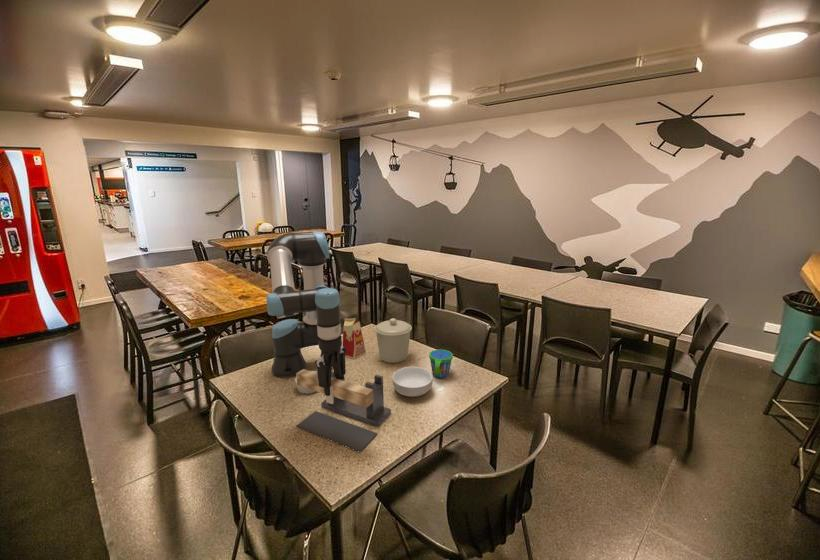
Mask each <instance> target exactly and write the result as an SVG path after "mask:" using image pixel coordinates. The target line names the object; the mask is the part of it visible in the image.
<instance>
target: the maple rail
mask: <svg viewBox="0 0 820 560" xmlns="http://www.w3.org/2000/svg"><path fill="white" fill-rule="evenodd" d="M312 371H313V370H307V369H303V370H301V371H299V372H298V373H296V375H295V376H296V377H297V385H299V386H302V387H305V388H308V389H311V390H314V391H316V393H317V392H319V393H321V394H324V395H325V391H324V388H322V387H319V382H318V374H317V373H315V372H312ZM296 377H295V378H296ZM297 385H296V386H297ZM331 386H333V397H336V398H339V399H342V400H345V401H348V402H351V403H355V404H358V405H361V406H364V407H368V406H370V405H371V404H372V403H373V389H369V388H366V387H365V386H363V385H359V384H355V383H352V382H349V381H346V380H345V381H342V380H339V379H335V378H332V377H331Z"/></svg>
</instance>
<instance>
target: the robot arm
mask: <svg viewBox="0 0 820 560" xmlns="http://www.w3.org/2000/svg"><path fill="white" fill-rule="evenodd" d="M327 240H328V239H327V237H326V235H325V233H324V232H322V231H302V232H286V233H283V234H280V235H278V236H277V237H276V238H275V239H273V240H272V242H271V243H270V244H269V246H268V249H267V251H266V257H267V258H266V259H267V261H268V263H269V264H270V276H271V277H270V278H271V288H272V289H271V291H272V293H271V292H270V293H268V294H267V295H266V296H265V297H266V298H265V299H266V309H267V314H268V315H269V316H272V317H273V316H285V315H292V314H293V315H295V314H301V313H305V315H304V316H303V318H302V322H299V320H298V319H295V318H288V319H287V318H286V319H283V320H281V321H278V322H276V323H275V324H274V325H273V327H272V328H271V333H272V334H271V338H272V343H273V353H274V358H273V363H272V365H271V373H272V374H273V376H276V377H278V378H279V377H280V378H290V377H294V376H296V373H298V372H299V371H301V370H303V369H305V370H307V364H306V363H307V362H306V361H305V358H304V355H303V354H302V351H301V350H302V349H301V348H309V347H315V346H318V348H319V350H320V356H319V357H320V358H318V360H315V361H314V365H315V367H316V371H317V374H318V382H319V387H322V388H324V391H325V394H324V396H325V400H326V402H327V403H330V404H333V403H334V399H333V386H331V373H332V372H334V375H335V377H336V378H335V379H339V380H341V379H342V380H343V379H345V375H346V373H347V371H346V356H345V353H346V348H345V347H343V335H341V334H342V327H341V325H342V324H341V309H340V308H341V307H340V302H341V300H340V294H339V291H338V289H336V288H332V287H328V286H327V285H324V284H325V283H324V267H323V266H324V265H326V263H327V260H328V259H329V258H330V249H329V244H328V241H327ZM292 261H297V262H298V265H299V266H301V268H302V276H303V288H304V289H301V290H300V289H299V290H296V287H295V282H294V276H293V268H292ZM341 370H342V371H341ZM343 375H344V377H343Z"/></svg>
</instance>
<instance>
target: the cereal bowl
mask: <svg viewBox="0 0 820 560" xmlns="http://www.w3.org/2000/svg"><path fill="white" fill-rule="evenodd" d="M433 377H434V376H433V374H432V372H431V371H429V370H428V369H426V368H423V367H419V366H405V367H402V368H399V369H397V370H395V371H394V372H393V374H392V377H391V380H392V386H393V387H394V389H395V391H396V392H397V393H399V394H401V395H402V396H406V397H419V396H423V395H425V394H426V393H427V392H428V391H430V389H431V388H432V386H433V382H434V379H433Z"/></svg>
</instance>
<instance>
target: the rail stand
mask: <svg viewBox="0 0 820 560" xmlns="http://www.w3.org/2000/svg"><path fill="white" fill-rule="evenodd" d="M341 371H342V370H341ZM331 377H332V378H336V377H335V375H334V371H332V373H331ZM343 377H344V379H343V380H342V379H341V380H342V381H346V380H345V379H346V378H345V375H343ZM373 379H374V381H373V382H371V381H366V382H365V385H364V387H366V388H369V389H373V403H372V404H371V405H370V406H368V407H364V406H361V405H358V404H355V403H351V402H348V401H345V400H342V399H339V398H336V397H333V399H334V403H333V404H330V403H327V402H326V399H325V400H323V401H322V402H321V408H322V409H325V410H327V411H330V412H334V413H336V412H337V413H336V414H339V415H342V416H345V417H348V418H350V419H354V420H357V421H359V422H362V423H365V424H367V425H370V426H374V427H377V428H379V427H380V426H381V425H382V424H383V422H385V421H386V420H387V418H388V417H389V416H391V414H392V409H391V408H389V407H385V401H384V397H385V396H384V376H382V375H379V374H375V375H374V377H373Z"/></svg>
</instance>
